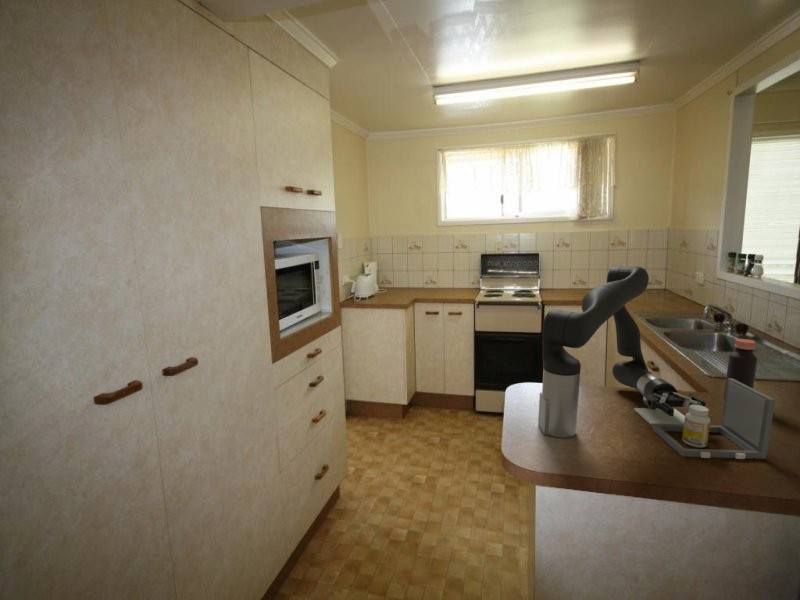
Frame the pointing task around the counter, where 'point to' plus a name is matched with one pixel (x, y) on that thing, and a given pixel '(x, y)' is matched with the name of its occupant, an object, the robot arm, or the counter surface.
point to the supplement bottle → (696, 426)
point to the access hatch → (734, 424)
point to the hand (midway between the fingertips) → (689, 413)
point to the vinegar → (742, 363)
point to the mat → (660, 416)
